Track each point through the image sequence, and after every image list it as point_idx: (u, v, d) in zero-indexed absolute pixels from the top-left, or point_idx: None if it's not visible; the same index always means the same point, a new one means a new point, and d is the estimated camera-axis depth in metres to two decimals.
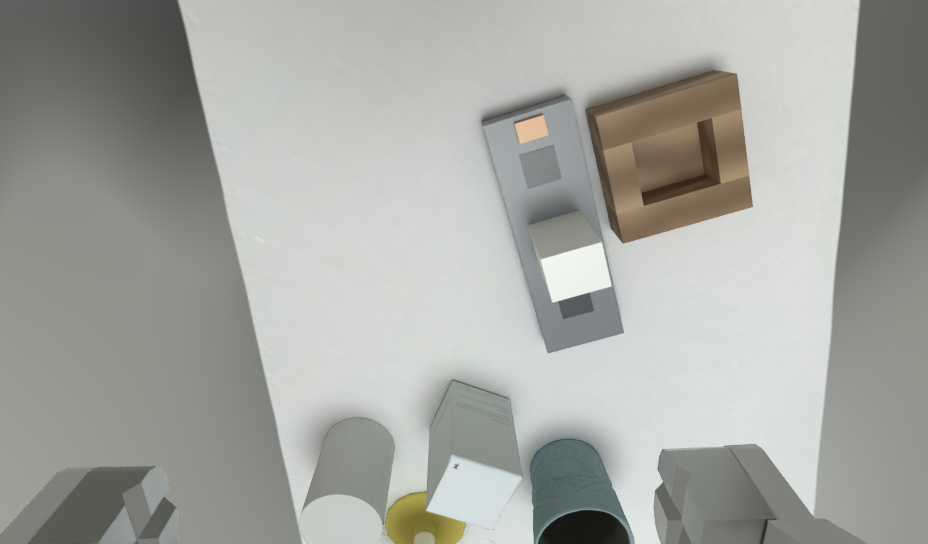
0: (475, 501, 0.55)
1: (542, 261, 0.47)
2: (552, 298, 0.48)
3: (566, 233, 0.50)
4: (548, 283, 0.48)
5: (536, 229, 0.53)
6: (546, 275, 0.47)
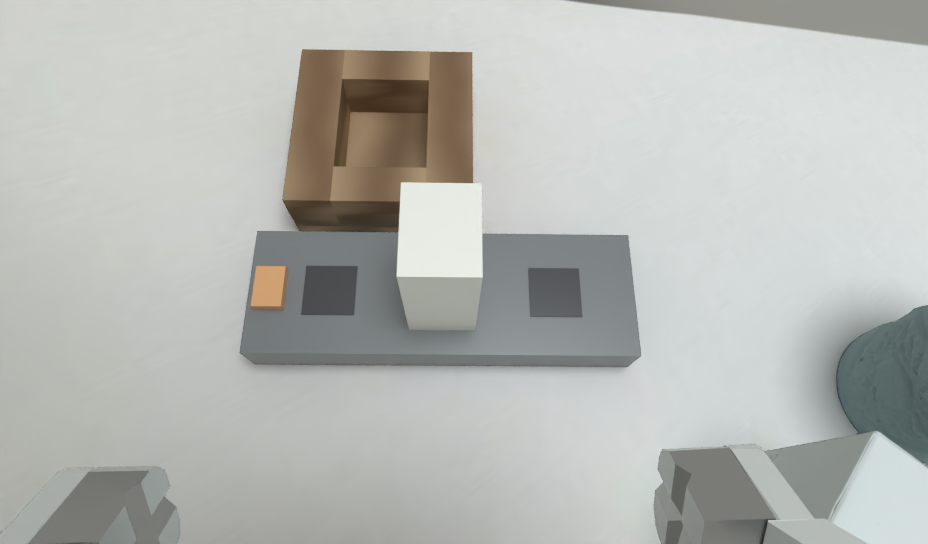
0: None
1: (401, 274, 0.27)
2: (474, 275, 0.27)
3: None
4: (444, 274, 0.27)
5: None
6: (428, 274, 0.27)
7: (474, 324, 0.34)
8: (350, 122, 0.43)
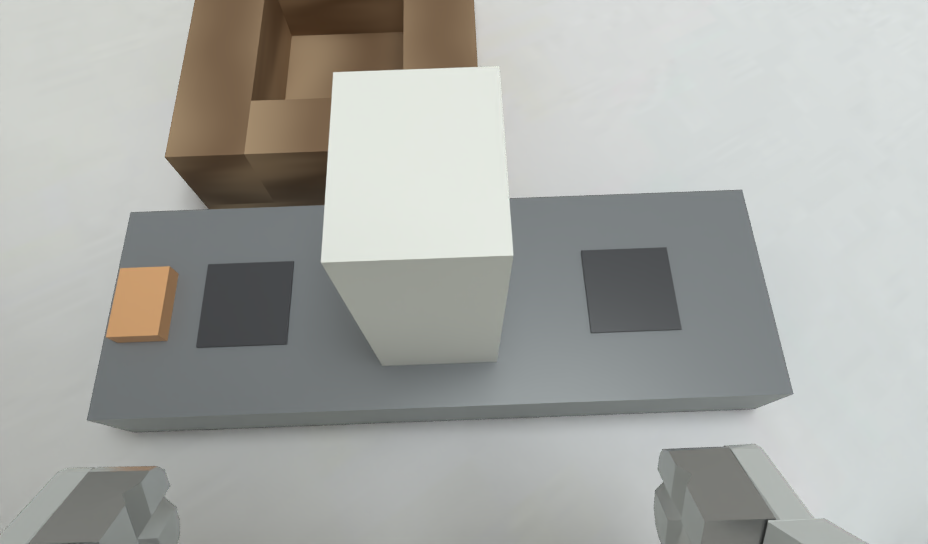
0: None
1: (331, 257, 0.12)
2: (495, 251, 0.12)
3: None
4: (428, 254, 0.12)
5: None
6: (393, 254, 0.12)
7: (495, 352, 0.19)
8: (291, 50, 0.29)
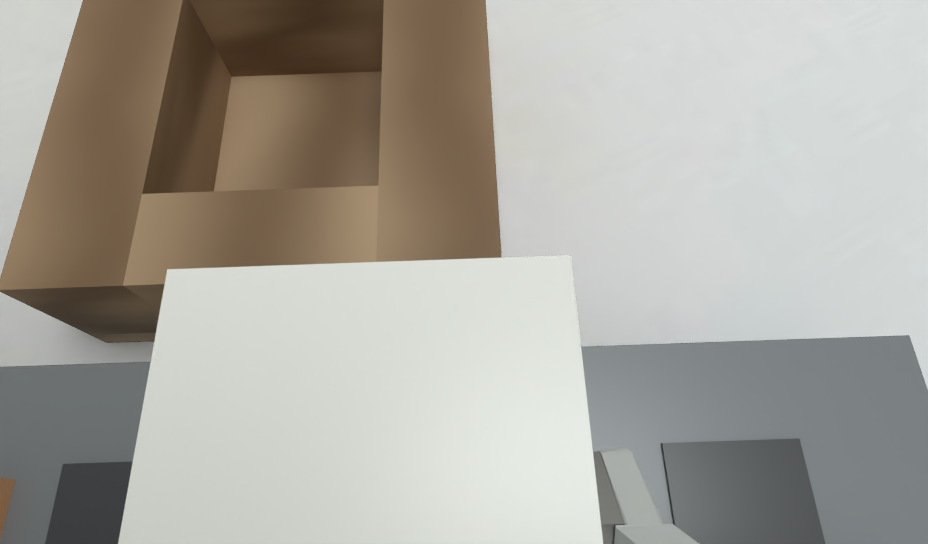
0: None
1: None
2: None
3: None
4: None
5: None
6: None
7: None
8: (229, 97, 0.21)
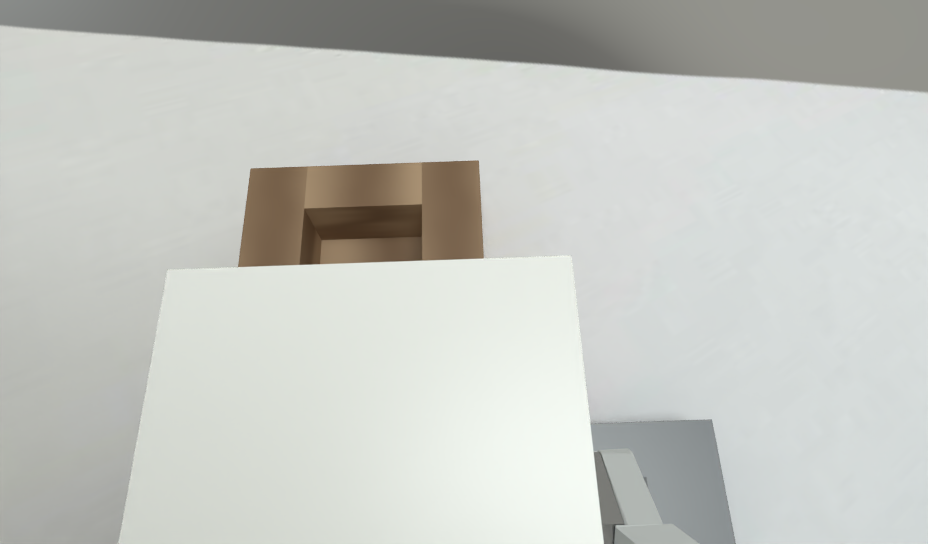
0: None
1: None
2: None
3: None
4: None
5: None
6: None
7: None
8: (321, 255, 0.33)
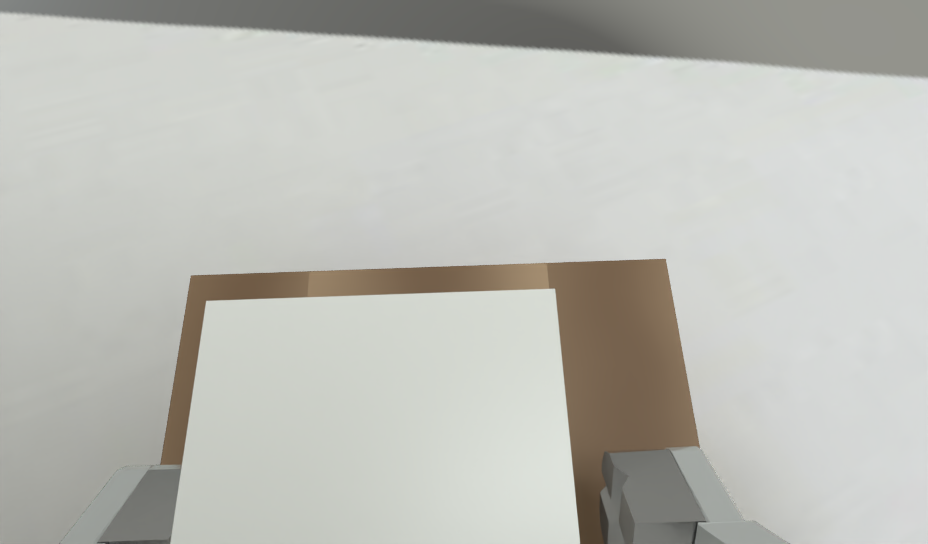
0: None
1: None
2: None
3: None
4: None
5: None
6: None
7: None
8: None
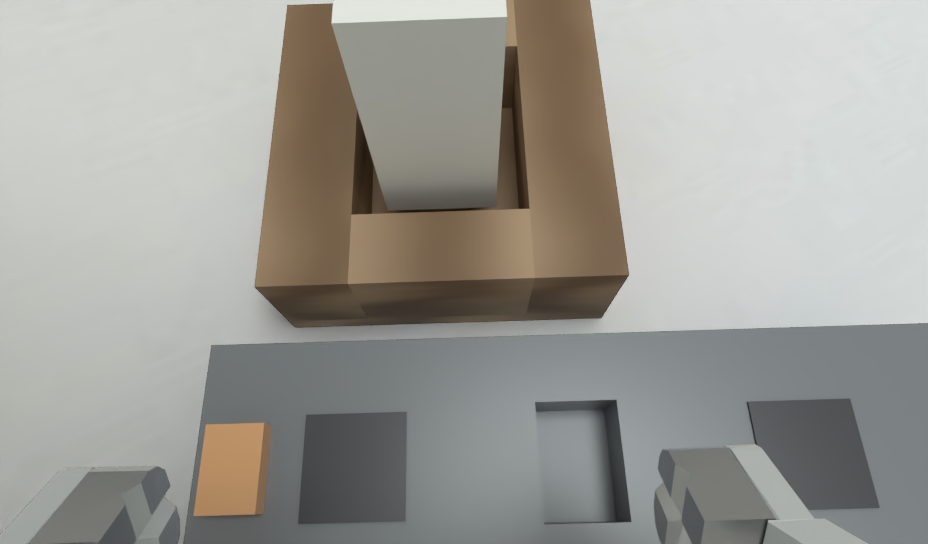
0: None
1: (341, 19, 0.13)
2: (490, 13, 0.13)
3: None
4: (429, 16, 0.13)
5: None
6: (397, 17, 0.13)
7: (494, 189, 0.20)
8: None
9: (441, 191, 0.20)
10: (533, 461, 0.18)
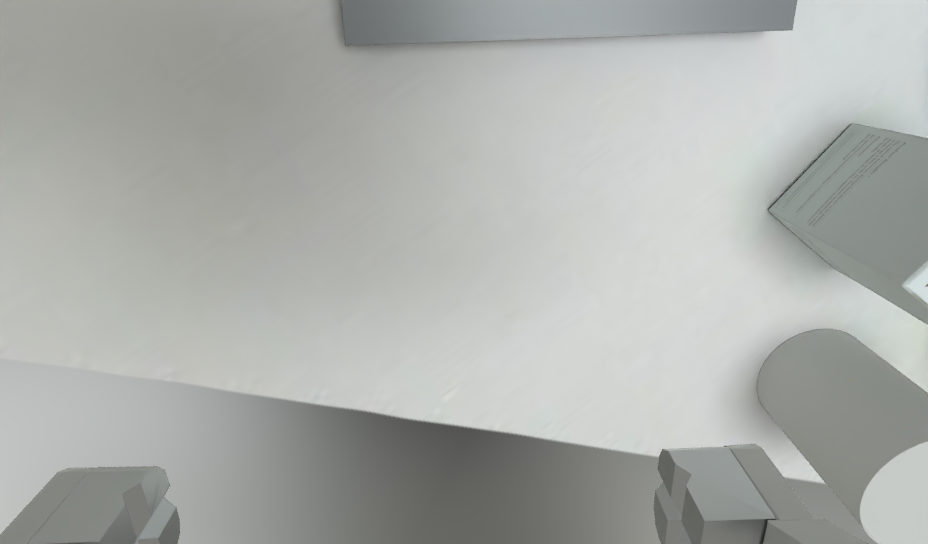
0: None
1: None
2: None
3: None
4: None
5: None
6: None
7: None
8: None
9: None
10: None
